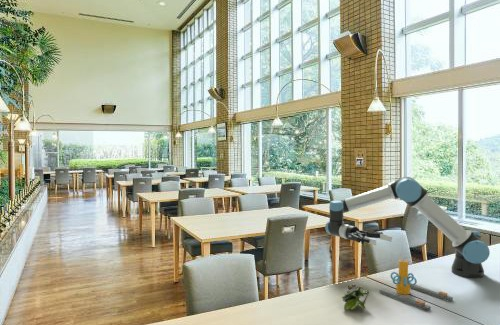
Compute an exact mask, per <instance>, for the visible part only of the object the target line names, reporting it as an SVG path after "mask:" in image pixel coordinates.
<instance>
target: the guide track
mask: <svg viewBox="0 0 500 325" xmlns="http://www.w3.org/2000/svg"><path fill="white" fill-rule="evenodd" d="M410 289H412V290H416V291H418V292H421V293H422V294H423V293H424V294H426V295H429V296H433V297H436V298H438V299H441V300H444V301H447V302H453V301H454V297H452V296H449V295H448V293H447V292H444V291H442V290H440V291H434V290H431V289H429V288H426V287H422V286H420V285H417V284H416V285H410ZM379 293H380V294H382V295H385V296H387V297H390V298H392V299H395V300H398V301H400V302H402V303H405V304H408V305H410V306H413V307H415V308H417V309H421V310H423V311H426V312H430V311H431V310H432V309H431V308H432V307H431V305H427V304H426V302H425V301H423V300H421V299H416V300H414V299H412V298H409V297H406V296H404V295H402V294H399V293H395V292H392V291H390V290H387V289H385V288H380V289H379Z"/></svg>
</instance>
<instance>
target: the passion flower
mask: <svg viewBox="0 0 500 325" xmlns="http://www.w3.org/2000/svg"><path fill="white" fill-rule="evenodd" d="M347 289H348V291H345V292H344V295H343V296H341V299H342V302H344V303H345V304H344V305H343V306H344V307H343V309H344V311H348V310H352V311H353V309H356V307H358V306H360V307H361V308H362V311H364V310H365V309H367V308H366V306H365V304H366V300H367V299H368V296H369V294H370V290H369V289H366V290H365V289H364V288H363V287H362V286H359V287H358V286H357V284H351V285H347ZM365 295H366V296H365ZM364 296H365V298H364V300H363V301H362V300H360V297H364Z"/></svg>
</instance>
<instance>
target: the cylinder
mask: <svg viewBox="0 0 500 325" xmlns="http://www.w3.org/2000/svg"><path fill="white" fill-rule="evenodd" d="M394 274H395V275H394ZM393 275H394V276H393ZM390 279H391V281H392V282H393V284H394V285H396V287H395V288H396V291H395V292H396V294H398V295H403V296H404V295H407V296H408V295H410V294H411V288H410V285H417V283H418V282H417V280H418V279H417V278H416V277H415V276H414V274H413V273H412V272H409V261H408V260H407V259H398V273H397V272H396V271H392V272H391V273H390ZM413 281H414V282H413ZM411 282H413V283H411Z"/></svg>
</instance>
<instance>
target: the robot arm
mask: <svg viewBox="0 0 500 325" xmlns="http://www.w3.org/2000/svg"><path fill="white" fill-rule="evenodd" d="M391 199H394V200H397V199H400V200H401V201H403V203H405V204H406V205H408V206H409V208H410V209H411V208H415V209H417V211H419V213H420V214H422V215H423V216H424V217H425V218H426V219H427V220H428V221H429V222H431V224H432V225H434V227H436V228H437V229H438V230H439V231H440V232H441V233H442V234H444V235H445V236H446V237H447V238H448V239H449V241H450V242H452V245H451V246H452V247H454V249H455V252H454V253H455V254H454V255H455V256H454V259H453V263H452V265H451V273H453V274H454V275H458V276H460V277H464V278H472V279H476V278H483V277H485V270H484V267H483V264H482V263H484V262H486V261H487V260H488V259H489V257H490V253H491V252H490V248H489V246H488V244H487V243H486V242H485V241H483V240H482V234H481V232H480V231H478V230H470V229H465V228H464V227H462V225H461V224H459V223H458V222H457V221H456V220H455V219H454V218H453V217H451V215H450V214H448V213H447V212H446V211H445V210H444V209H443V208H442V207H441V206H439V204H437V203H436V202H435V201H434V200H433V199H432V198H431V197H429V192H428V191H427V189H425V188H424V187H423V186H422V185H421V184H420V183H419V182H418V181H416V179H414V177H413V178H412V177H411V176H403V177H401V178H398V179H396V180H394V181H392V182H391V181H390V182H389V183H388V184H387V185H385V186H381V187H379V188H375V189H373V190H368V191H367V192H363V193H360V194H356V195H352V196H351V197H347V198H344V199H341V200H331V201H329V207H328V209H329V221H327V222H326V223H325V226H324V229H325V231H326V233H327V234H329V235H331V236H334V237H340V238H344V240H350V241H355V242H356V243H361V244H362V245H364V244H369V245H372V246H377V239H380V240H382V241H387V242H390V243H391V242H393V236H392V235H389V234H384V232H382V231H380V232H379V231H370V230H366V229H365V230H360V229H359V227H357V226H355V225H351V224H345V223H344V214H345V213H349V212H351V211H355V210H359V209H361V208H364V207H367V206H368V207H369V206H371V205H375V204H379V203H382V202H383V201H384V202H385V201H387V200H388V201H389V200H391Z"/></svg>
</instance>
